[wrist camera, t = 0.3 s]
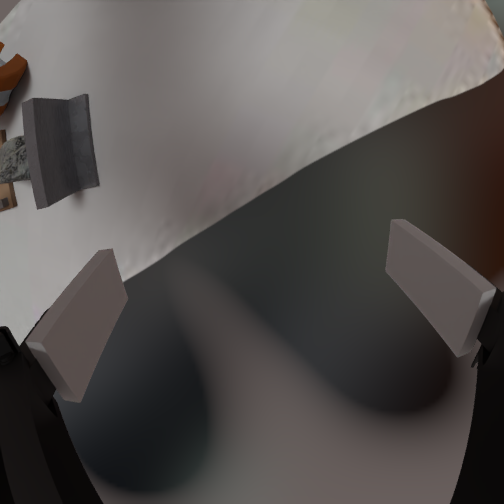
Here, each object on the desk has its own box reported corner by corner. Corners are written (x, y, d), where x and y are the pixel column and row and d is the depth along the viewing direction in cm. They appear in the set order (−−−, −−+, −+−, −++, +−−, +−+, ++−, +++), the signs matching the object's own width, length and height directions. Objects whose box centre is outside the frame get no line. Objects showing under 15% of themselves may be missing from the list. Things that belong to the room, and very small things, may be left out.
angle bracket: (61, 103, 31) (21, 103, 22) (87, 94, 32) (50, 89, 22) (73, 190, 37) (37, 209, 28) (99, 184, 37) (65, 202, 28)
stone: (-5, 205, 27) (5, 135, 23) (-7, 177, 31) (4, 119, 27) (50, 204, 35) (65, 140, 31) (39, 178, 39) (53, 124, 35)
